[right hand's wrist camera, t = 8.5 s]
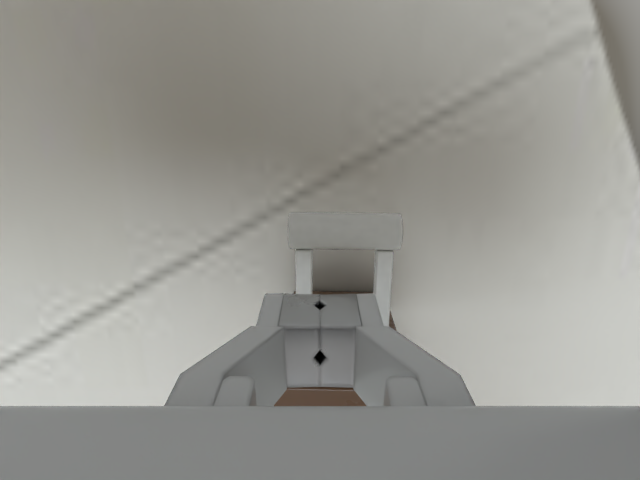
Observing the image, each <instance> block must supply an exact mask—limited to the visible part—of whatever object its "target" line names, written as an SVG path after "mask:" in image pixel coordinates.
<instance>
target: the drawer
mask: <svg viewBox="0 0 640 480" xmlns="http://www.w3.org/2000/svg"><path fill="white" fill-rule="evenodd" d="M402 240H403V221H402V217H401V214H399V213H318V212H291V213H290V214H289V218H288V244H289V248H290V249H296V250H295V277H296V291H294V294H320V295H323V294H367V293H374V294H375V296H376V299H377V303H378V307H379V310H380V314H381V317H382V321H383V324H384V326H389V327H391V328H392V329H394V330H395V331H396V328H395V324H394V321H393V318H392V315H391V312H390V302H391V287H392V272H393V257H394V252H393V250H399V249H400V248H401V245H402ZM312 249H353V250H375V264H374V284H373V292H321V291H313V258H312ZM274 406H366V404H365V403H364V402H363V401H362V399H361V398H360V397H359V396H358V394H357V393H356V392H355V391H354V389H353V388H346V387H294V388H287V390H286V391H285V392H284V394H283V395H282V396H281V397H280V398H279V400H278V401H277V402H276V403H275V405H274Z"/></svg>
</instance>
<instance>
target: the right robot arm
mask: <svg viewBox="0 0 640 480" xmlns="http://www.w3.org/2000/svg"><path fill="white" fill-rule="evenodd" d="M294 387H346V388H353V389H354V391H355V392H356V393H357V394H358V396H359V397H360V398H361V399H362V401H363V402H364V403H365V404H366V406H274V405H275V403H276V402H277V401H278V400H279V398H280V397H281V396H282V395H283V394H284V392H285V391H286V390H287V388H294ZM0 480H640V406H476V405H475V403H474V401H473V399H472V397H471V395H470V393H469V391H468V389H467V387H466V385H465V383H464V381H463V379H462V377H461V375H460V374H458V373H457V372H455V371H454V370H453V369H451V368H450V367H448V366H447V365H445V364H444V363H442V362H441V361H439V360H438V359H436V358H435V357H433V356H432V355H431V354H429V353H428V352H426V351H425V350H423V349H422V348H420V347H419V346H417V345H416V344H414V343H413V342H411V341H410V340H408V339H407V338H406V337H404V336H403V335H401V334H400V333H398V332H397V331H395V330H394V329H392V328H391V327H389V326H384V324H383V321H382V317H381V314H380V310H379V307H378V303H377V299H376V296H375V294H374V293H367V294H323V295H320V294H283V293H274V294H265V296H264V299H263V303H262V306H261V310H260V313H259V317H258V321H257V324H256V326H251V327H249V328H248V329H246V330H245V331H243V332H242V333H240V334H239V335H237V336H236V337H234V338H233V339H231V340H230V341H228V342H227V343H226V344H224V345H223V346H221V347H220V348H218V349H217V350H215V351H214V352H212V353H211V354H209V355H208V356H206V357H205V358H203V359H202V360H200V361H199V362H198V363H196V364H195V365H193V366H192V367H190V368H189V369H187V370H186V371H184V372H183V373H181V374H180V376H179V378H178V380H177V382H176V384H175V386H174V388H173V390H172V392H171V394H170V396H169V398H168V400H167V402H166V403H165V405H164V406H0Z"/></svg>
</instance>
